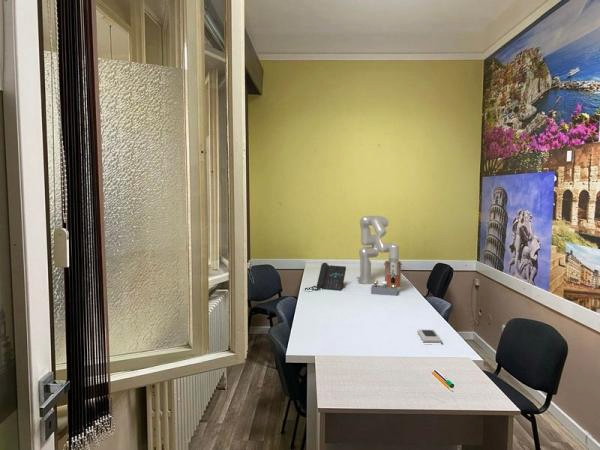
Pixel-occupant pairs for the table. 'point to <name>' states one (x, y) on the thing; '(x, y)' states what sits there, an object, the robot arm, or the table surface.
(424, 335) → the keypad
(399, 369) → the table surface
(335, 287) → the office phone
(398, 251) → the robot arm
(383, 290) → the mount
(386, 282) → the grey knob middle
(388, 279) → the control panel
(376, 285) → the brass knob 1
